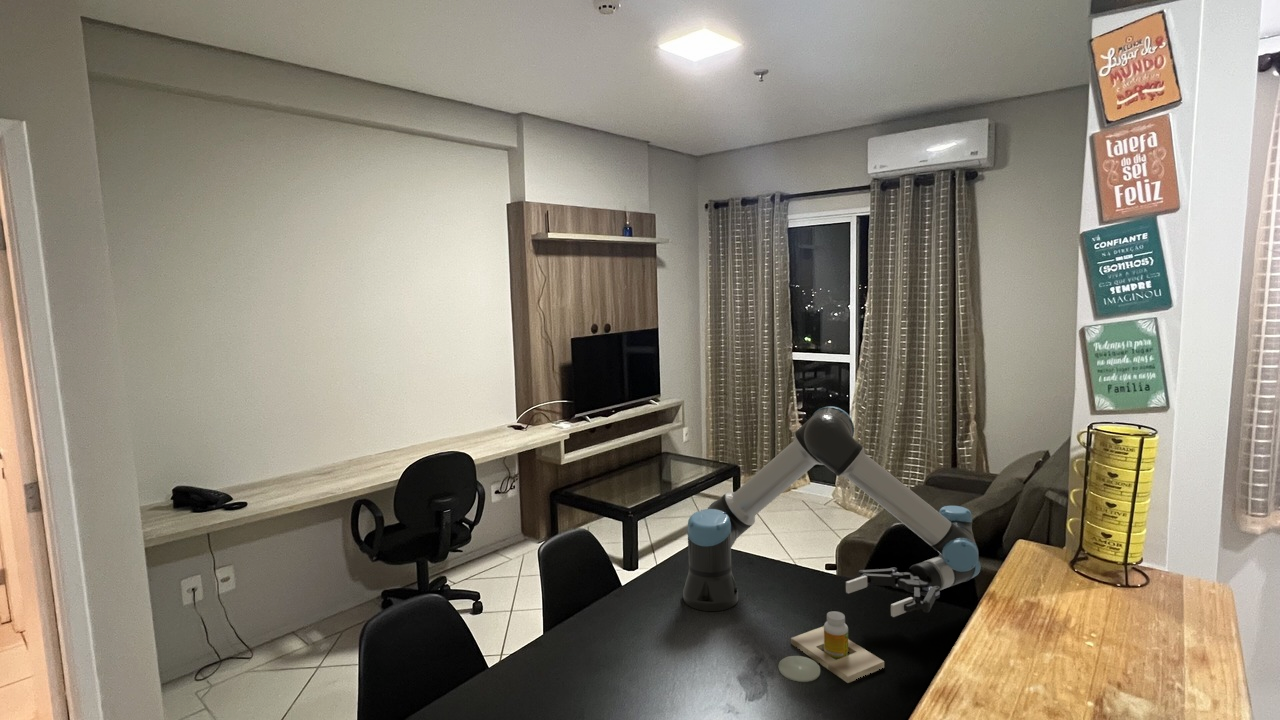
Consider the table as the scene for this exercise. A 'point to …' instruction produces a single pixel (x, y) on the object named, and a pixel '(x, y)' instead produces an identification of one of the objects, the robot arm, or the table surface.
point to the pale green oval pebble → (799, 668)
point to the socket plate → (845, 667)
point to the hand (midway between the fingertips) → (868, 598)
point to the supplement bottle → (836, 635)
